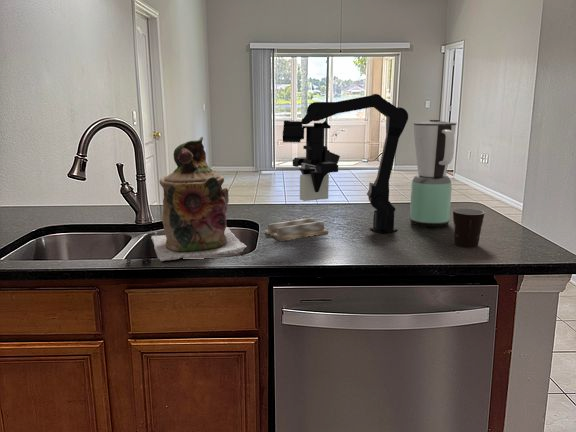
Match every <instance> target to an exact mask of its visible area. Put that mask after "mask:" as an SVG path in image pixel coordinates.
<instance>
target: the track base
mask: <svg viewBox="0 0 576 432" xmlns="http://www.w3.org/2000/svg"><path fill="white" fill-rule="evenodd" d="M315 220H316V218H315V217H307V218H301V219H300V218H299V219H295V220H288V221H282V222H274V223H268V224H267V229H264V234H265V233H267V234H266V235H268V234H270V235H271V236H270V235H269V236H270V237H272V236H273V237H272V238H274V237H275V238H274V239H276V238H278V239H279V240H278V239H277V240H278V241H280V240H282V241H281V242H285V241H284V240H287V241H290V240H289V239H293V240H297V239H296V238H298V239H303V238H302V237H304V238H309V237H308V236H310V237H315V236H314V235H316V236H321V235H326V234H327V235H328V234H329V230H327V229H326V228H325V221H324V220H320V221H315Z"/></svg>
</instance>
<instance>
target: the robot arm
mask: <svg viewBox="0 0 576 432" xmlns="http://www.w3.org/2000/svg"><path fill="white" fill-rule="evenodd" d="M369 108H373V109H375V110H377V111H378V112H379V113H380V114H382V116H384V117H386V118H385V119H386V120H385V139H384V143H383V149H382V152H381V158H380V162H379V166H378V171H377V175H376V179H375V180H374V182H369V185H368V191H367V192H366V195H367V196H368V201H369V203H370V205H371V206H372V208H373V209H375V210H374V211H373V217H372V218H373V220H372V221H373V225H372V226H373V227H370V228H369V230H370V231H371V230H372V231H373V232H377V233H380V234H387V233H393V232H397V231H398V228H395V226H394V225H395V212H396V207H395V206H394V205H393V203H392V202H391V201H390V178H391V176H392V175H391V173H392V171H393V165H394V161H395V156H396V152H397V147H398V144H399V140H400V138H401V135H402V134H403V132H404V130H405V127H406V125H407V122H408V121H409V113H408V112H407V110H406V109H405V108H403V107H398V106H396V105H394V104H392V103H391V102H390V101H388V100H386V99H385V98H383V97H382V96H381V95H380V94H379V93H373V94H370V95H366V96H360V97H356V98H350V99H345V100H339V101H314V102H311V103H310V104H309V105H308V107H307V108H306V115H305V116H304V117H302V118H301V121H300V120H292V121H291V120H289V119H288V120H284V121H283V130H282V143H301V141H302V140H305V145H303V147H302V148H303V150H305V156H301V157H299V156H298V157H294V158H293V160H292V167H296V168H298V167H300V166H301V167H300V168H299V169H298V170H299V171H300V173H301V175H304V174H311V177H312V182H313V186H314V190H315V192H319V189H320V186H321V184H322V181H323V178H324V176H325V175H326V174H330V173H339V164H338V163H339V161H340V158H341V156H340V154H339V155H338V154H336V153H334V152H331V151H330V150H329V149H328V146H326V145H325V129H331V125H330V124H329V123H328V122H327V120H324V119H327V118H330V117H333V116H334V115H335V116H336V115H338V114H343V113H349V112H353V111H358V110H366V109H369ZM322 120H324V121H323V122H319V121H322ZM312 122H313V125H309V124H310V123H312ZM305 129H306V133H305ZM305 134H306V135H305Z"/></svg>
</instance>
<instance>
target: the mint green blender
mask: <svg viewBox="0 0 576 432" xmlns="http://www.w3.org/2000/svg"><path fill="white" fill-rule="evenodd" d="M456 127H457V122H448V121H444V120H443V121H442V120H440V119H429V120H426V121H420V122H419V121H418V122H414V123H413V134H414V135H413V137H414V145H415V155H416V164H417V166H416V167H417V172H418V173H417V174H416V175H415V176H414V177H413V179H412V181H411V190H410V204H409V205H410V207H409V209H410V210H409V221H410V223H411V224H414V225H418V226H420V227H421V229H422V230H423V229H424V230H426V229H428V227H442V228H448V227H449V223H450V220H451V219H450V218H451V207H452V206H451V204H452V202H451V201H452V180H451V179H450V177H449V176H448V175H447V172H448V166H449V165H450V163H451V162H452V161H453V159H454V152H455V151H454V150H455V134H456V129H457V128H456Z"/></svg>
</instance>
